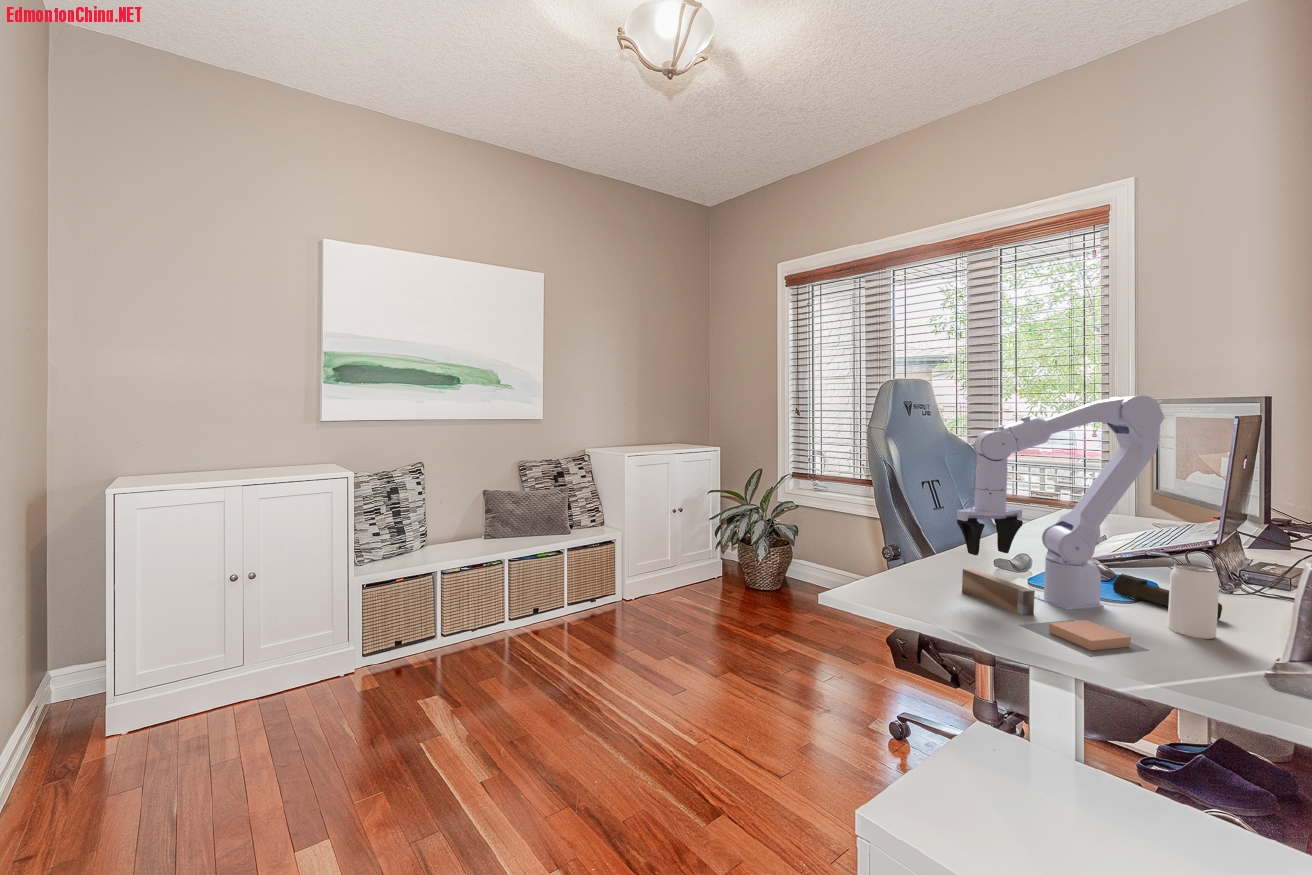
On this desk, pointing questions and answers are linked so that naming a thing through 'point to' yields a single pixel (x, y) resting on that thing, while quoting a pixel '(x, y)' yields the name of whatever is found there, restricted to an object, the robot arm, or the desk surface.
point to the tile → (1089, 635)
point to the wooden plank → (998, 591)
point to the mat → (1044, 631)
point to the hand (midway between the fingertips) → (988, 553)
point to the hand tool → (1144, 591)
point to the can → (1193, 600)
